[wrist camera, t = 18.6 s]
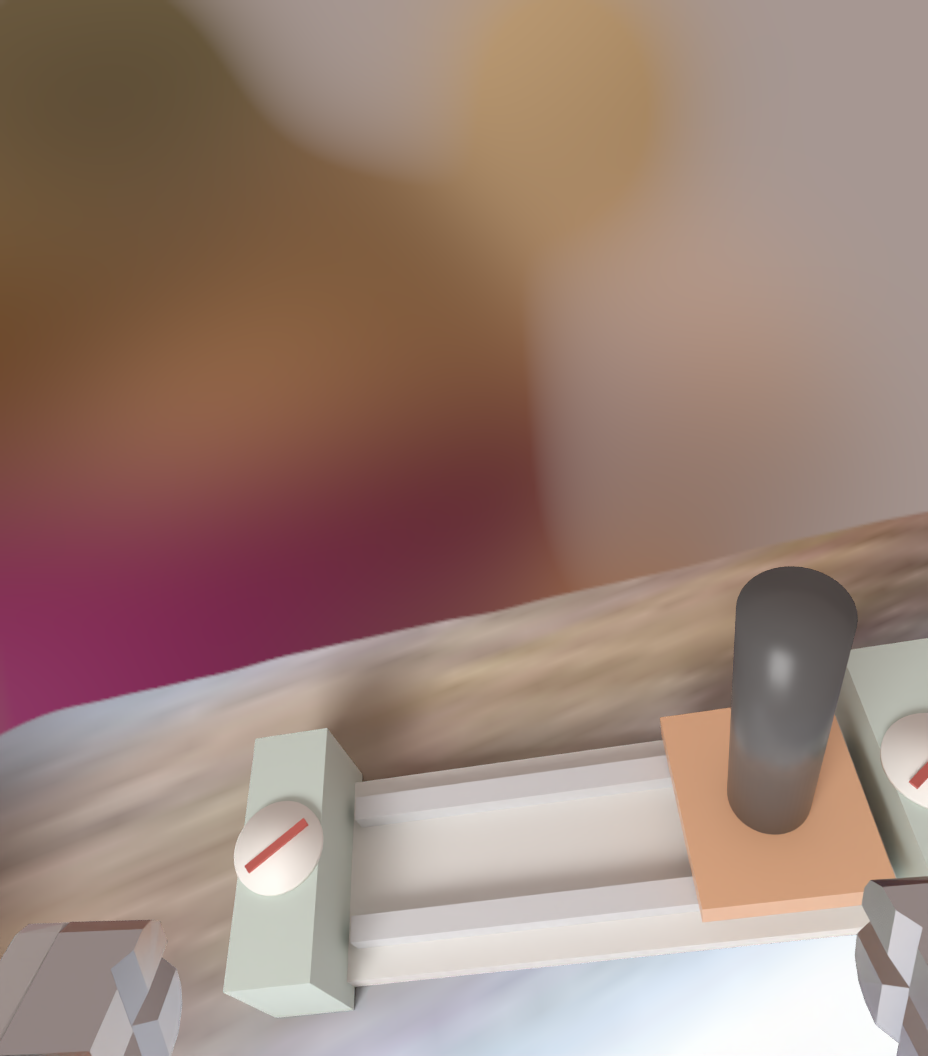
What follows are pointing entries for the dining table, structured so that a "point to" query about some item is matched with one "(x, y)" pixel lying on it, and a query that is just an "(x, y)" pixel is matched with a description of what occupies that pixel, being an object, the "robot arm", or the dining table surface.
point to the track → (521, 856)
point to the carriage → (777, 762)
